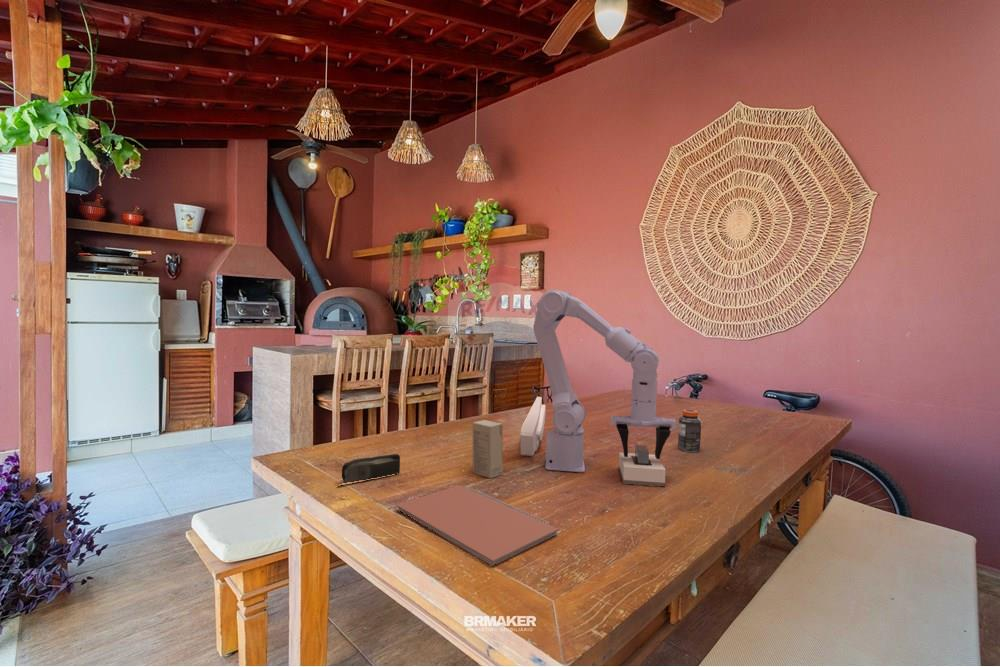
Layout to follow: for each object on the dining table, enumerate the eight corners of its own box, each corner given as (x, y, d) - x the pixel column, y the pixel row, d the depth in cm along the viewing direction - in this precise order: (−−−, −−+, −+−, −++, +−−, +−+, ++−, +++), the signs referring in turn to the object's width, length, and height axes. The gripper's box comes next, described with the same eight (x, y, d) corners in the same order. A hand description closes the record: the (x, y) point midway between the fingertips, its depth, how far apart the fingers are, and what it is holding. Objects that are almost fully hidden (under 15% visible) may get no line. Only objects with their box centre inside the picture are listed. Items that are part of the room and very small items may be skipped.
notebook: (562, 536, 86) (562, 525, 86) (493, 571, 74) (493, 558, 74) (463, 491, 105) (463, 482, 105) (396, 513, 94) (396, 503, 93)
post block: (623, 484, 110) (624, 466, 110) (618, 468, 121) (619, 452, 121) (664, 487, 109) (665, 469, 109) (656, 470, 120) (656, 454, 120)
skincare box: (503, 474, 115) (504, 423, 114) (490, 479, 111) (491, 426, 111) (483, 468, 119) (485, 418, 118) (471, 472, 116) (472, 421, 115)
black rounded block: (396, 451, 116) (334, 462, 106) (402, 454, 113) (340, 465, 104) (395, 472, 116) (333, 484, 106) (401, 475, 114) (339, 488, 104)
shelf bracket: (548, 435, 151) (548, 397, 148) (537, 478, 127) (537, 434, 124) (530, 433, 152) (530, 396, 149) (516, 476, 129) (516, 433, 125)
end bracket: (637, 476, 113) (638, 451, 112) (634, 469, 118) (635, 444, 117) (647, 477, 112) (649, 451, 112) (644, 470, 117) (645, 445, 117)
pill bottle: (701, 449, 139) (703, 410, 139) (697, 454, 134) (699, 413, 134) (680, 445, 143) (682, 407, 142) (675, 450, 138) (677, 410, 137)
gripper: (613, 401, 111) (611, 460, 112) (679, 404, 109) (677, 464, 110) (611, 395, 118) (609, 450, 119) (673, 398, 116) (670, 454, 117)
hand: (641, 456), depth 115 cm, fingers open, 7 cm apart
